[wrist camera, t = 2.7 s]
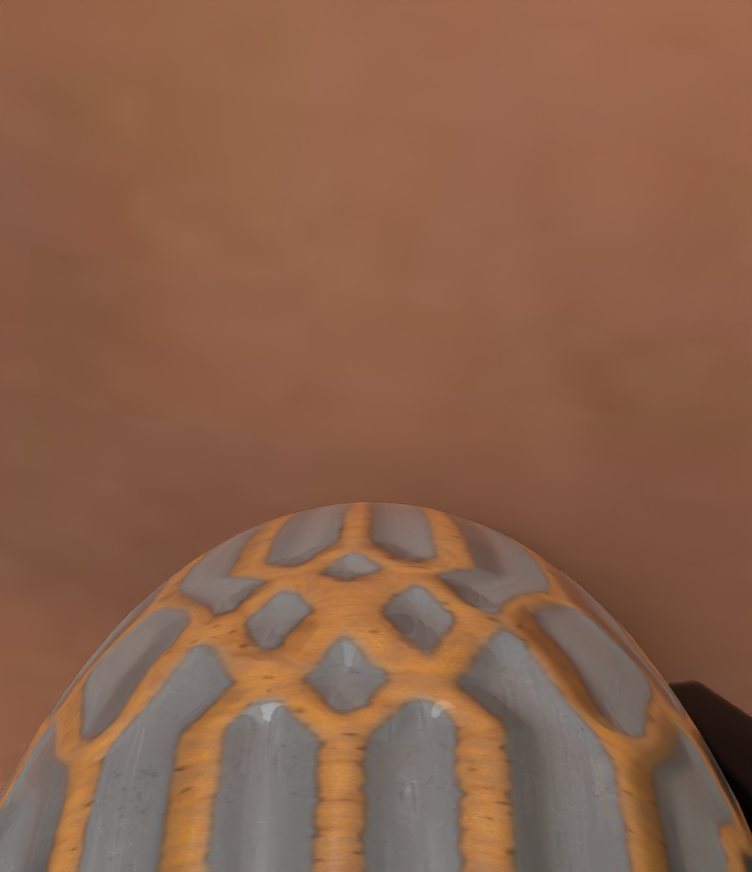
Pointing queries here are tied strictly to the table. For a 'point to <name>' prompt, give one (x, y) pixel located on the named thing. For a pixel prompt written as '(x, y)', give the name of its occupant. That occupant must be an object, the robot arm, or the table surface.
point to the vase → (370, 719)
